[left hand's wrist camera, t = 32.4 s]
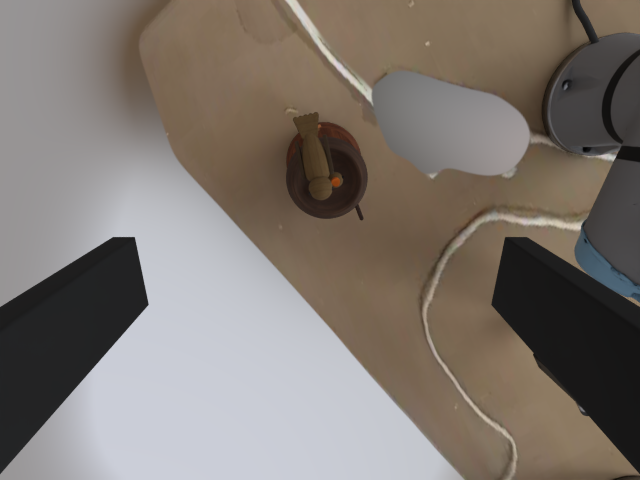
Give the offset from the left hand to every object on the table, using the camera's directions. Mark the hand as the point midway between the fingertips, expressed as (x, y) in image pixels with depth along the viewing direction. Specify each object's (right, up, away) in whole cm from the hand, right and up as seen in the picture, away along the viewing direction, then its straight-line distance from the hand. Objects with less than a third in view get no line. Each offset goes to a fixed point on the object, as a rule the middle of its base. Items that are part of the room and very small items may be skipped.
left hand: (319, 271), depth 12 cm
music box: (+1, +13, +39) cm, 41 cm away
